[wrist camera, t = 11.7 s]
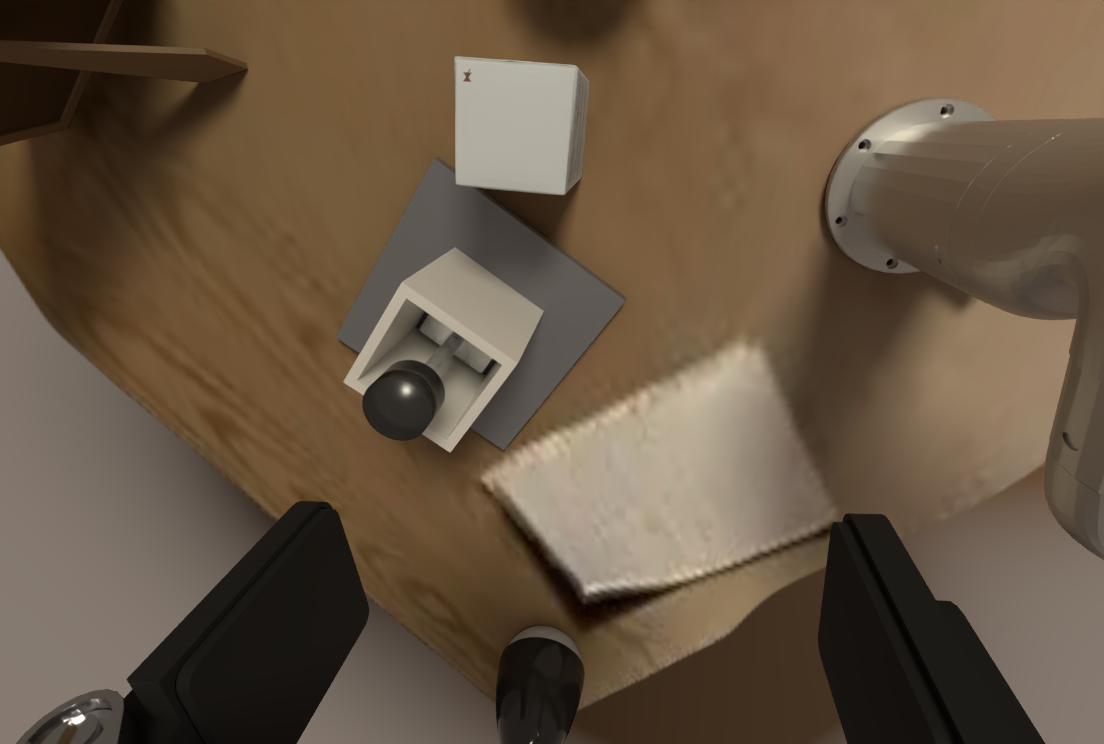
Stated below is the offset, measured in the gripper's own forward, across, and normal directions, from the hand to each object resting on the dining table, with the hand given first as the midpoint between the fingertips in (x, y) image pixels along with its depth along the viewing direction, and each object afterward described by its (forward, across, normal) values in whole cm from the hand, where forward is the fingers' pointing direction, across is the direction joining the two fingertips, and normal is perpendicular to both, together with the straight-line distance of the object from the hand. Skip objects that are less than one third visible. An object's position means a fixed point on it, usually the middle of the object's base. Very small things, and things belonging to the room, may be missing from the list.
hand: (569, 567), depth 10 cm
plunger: (+37, +15, +7) cm, 41 cm away
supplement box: (+40, +7, -8) cm, 41 cm away
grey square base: (+39, +15, +7) cm, 42 cm away
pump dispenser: (+39, +13, +50) cm, 65 cm away
